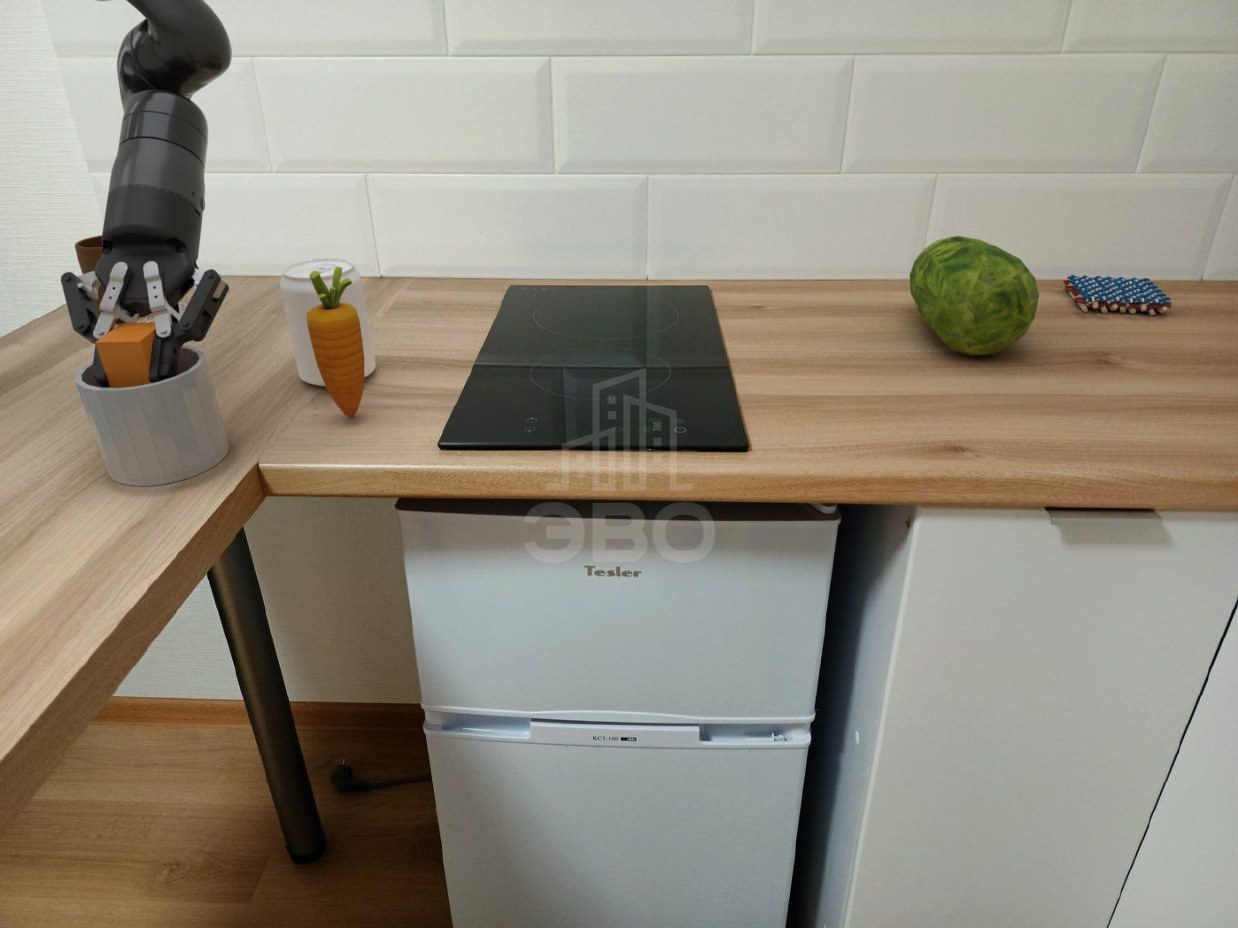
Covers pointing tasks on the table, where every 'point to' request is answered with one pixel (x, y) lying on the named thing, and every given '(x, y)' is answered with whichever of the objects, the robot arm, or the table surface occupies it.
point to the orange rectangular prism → (127, 354)
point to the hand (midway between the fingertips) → (133, 384)
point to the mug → (92, 262)
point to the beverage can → (304, 297)
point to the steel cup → (157, 424)
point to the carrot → (337, 343)
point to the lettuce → (973, 295)
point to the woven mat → (1116, 294)
